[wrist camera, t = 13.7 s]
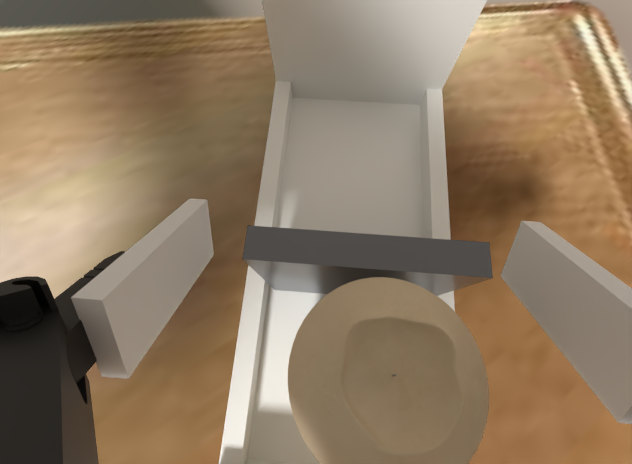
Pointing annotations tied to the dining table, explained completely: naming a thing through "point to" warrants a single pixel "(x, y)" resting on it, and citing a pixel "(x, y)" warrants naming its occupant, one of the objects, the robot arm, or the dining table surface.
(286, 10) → the pusher lane
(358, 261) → the plate
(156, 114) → the dining table surface
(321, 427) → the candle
